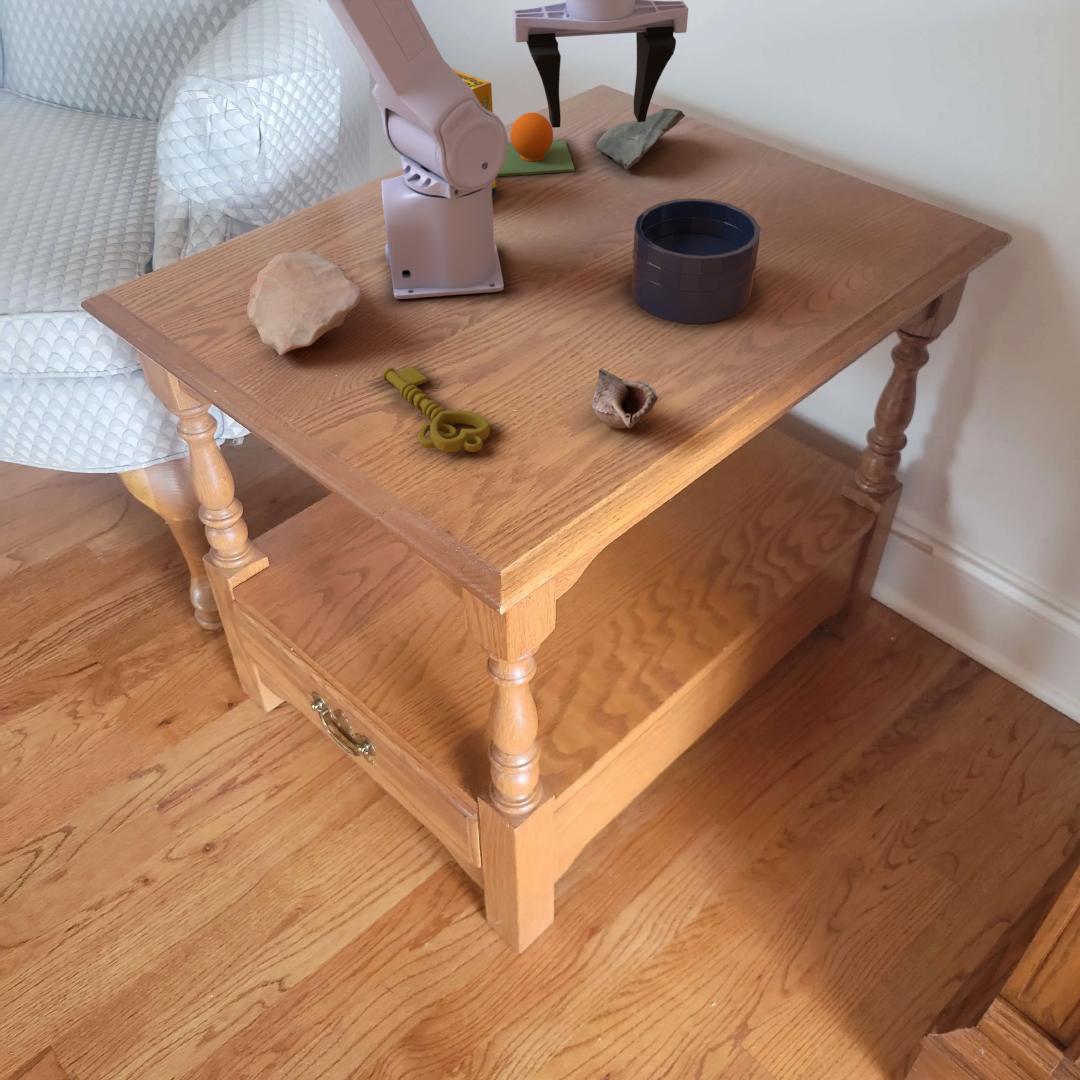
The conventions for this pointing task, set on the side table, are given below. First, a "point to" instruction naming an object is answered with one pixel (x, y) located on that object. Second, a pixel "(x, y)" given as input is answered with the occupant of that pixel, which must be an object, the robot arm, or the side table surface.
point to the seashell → (622, 400)
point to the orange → (532, 136)
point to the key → (439, 415)
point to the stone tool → (300, 300)
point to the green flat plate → (551, 163)
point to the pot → (694, 260)
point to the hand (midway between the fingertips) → (597, 120)
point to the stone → (637, 136)
